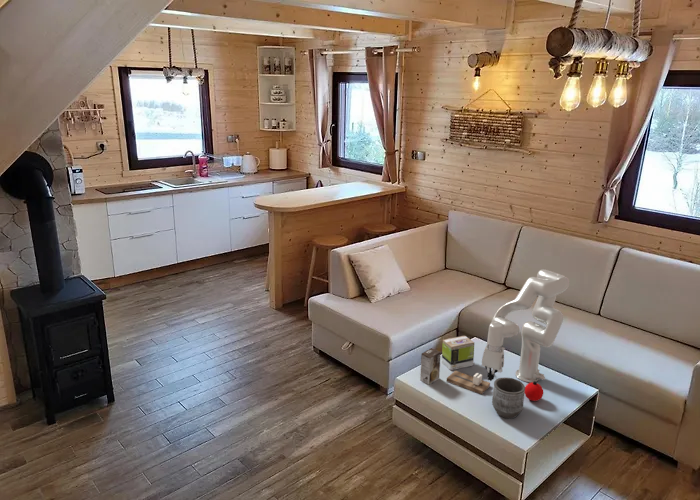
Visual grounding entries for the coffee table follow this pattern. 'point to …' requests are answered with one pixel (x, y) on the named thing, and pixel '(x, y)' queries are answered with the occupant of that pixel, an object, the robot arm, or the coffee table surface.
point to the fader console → (467, 382)
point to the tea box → (457, 352)
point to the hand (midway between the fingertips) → (490, 379)
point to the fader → (477, 379)
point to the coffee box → (430, 366)
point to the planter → (508, 397)
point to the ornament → (533, 391)
